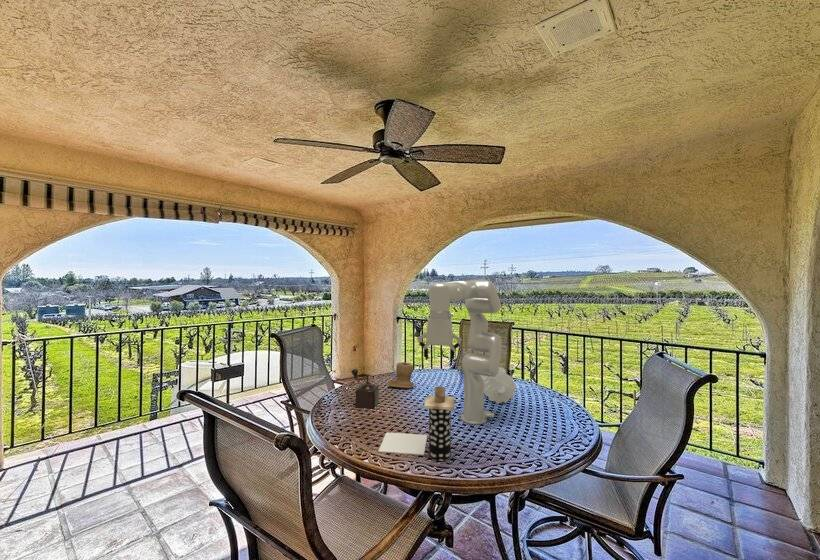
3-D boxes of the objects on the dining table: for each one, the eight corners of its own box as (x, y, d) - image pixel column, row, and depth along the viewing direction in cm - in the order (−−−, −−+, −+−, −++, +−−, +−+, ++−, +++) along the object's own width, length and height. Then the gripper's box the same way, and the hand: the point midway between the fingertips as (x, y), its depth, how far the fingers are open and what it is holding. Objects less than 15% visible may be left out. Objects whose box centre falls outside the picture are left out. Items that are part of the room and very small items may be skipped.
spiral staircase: (497, 397, 204) (509, 411, 179) (471, 384, 205) (479, 397, 180) (510, 369, 205) (524, 380, 180) (484, 357, 205) (494, 366, 180)
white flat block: (427, 435, 146) (427, 434, 146) (423, 455, 130) (423, 454, 130) (386, 433, 149) (386, 432, 149) (378, 452, 133) (378, 451, 133)
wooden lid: (454, 399, 135) (454, 384, 135) (454, 410, 124) (454, 393, 124) (426, 397, 137) (426, 383, 136) (424, 408, 126) (424, 392, 126)
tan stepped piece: (415, 384, 215) (415, 361, 215) (411, 390, 204) (411, 365, 204) (392, 382, 219) (393, 359, 219) (387, 388, 208) (387, 364, 207)
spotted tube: (448, 449, 135) (449, 399, 135) (452, 460, 127) (452, 407, 126) (428, 449, 135) (428, 399, 134) (429, 461, 126) (430, 407, 126)
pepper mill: (379, 401, 186) (379, 369, 186) (374, 409, 175) (374, 374, 175) (352, 399, 188) (352, 367, 188) (345, 407, 178) (345, 373, 177)
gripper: (462, 315, 134) (461, 358, 134) (418, 314, 136) (418, 356, 136) (462, 317, 126) (461, 363, 126) (416, 316, 129) (415, 360, 129)
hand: (439, 359), depth 131 cm, fingers open, 9 cm apart
